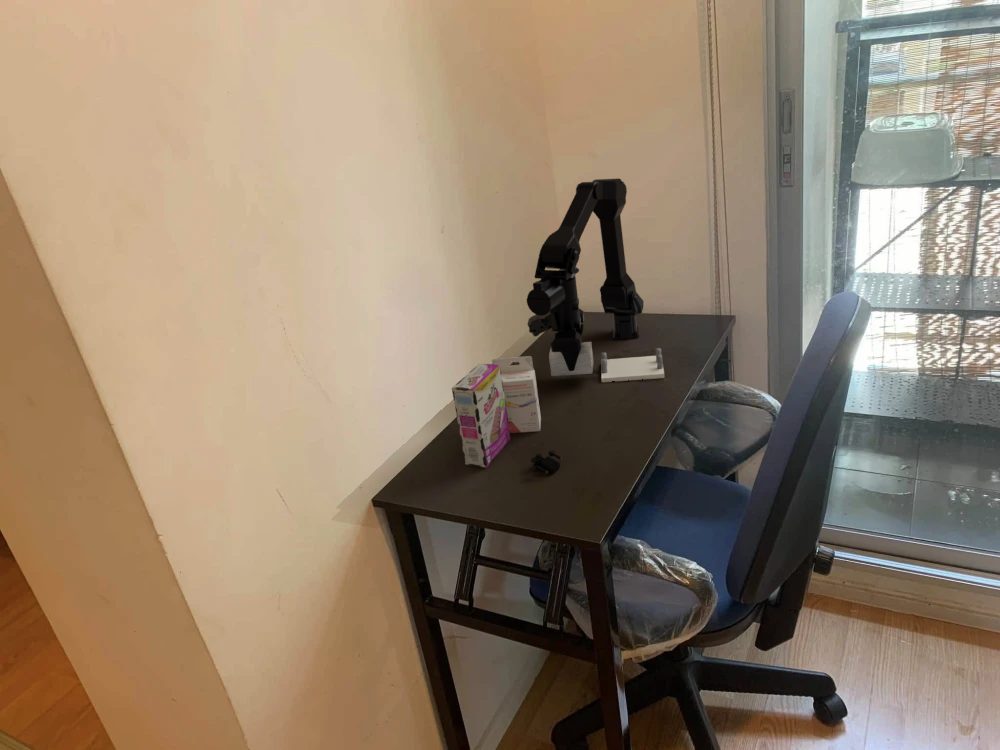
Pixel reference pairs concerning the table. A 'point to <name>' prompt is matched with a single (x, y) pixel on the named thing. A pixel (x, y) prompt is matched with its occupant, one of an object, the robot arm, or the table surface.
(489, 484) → the table surface
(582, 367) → the block
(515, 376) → the ink cartridge box
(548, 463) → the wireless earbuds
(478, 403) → the candy bar box
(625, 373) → the pin tray
